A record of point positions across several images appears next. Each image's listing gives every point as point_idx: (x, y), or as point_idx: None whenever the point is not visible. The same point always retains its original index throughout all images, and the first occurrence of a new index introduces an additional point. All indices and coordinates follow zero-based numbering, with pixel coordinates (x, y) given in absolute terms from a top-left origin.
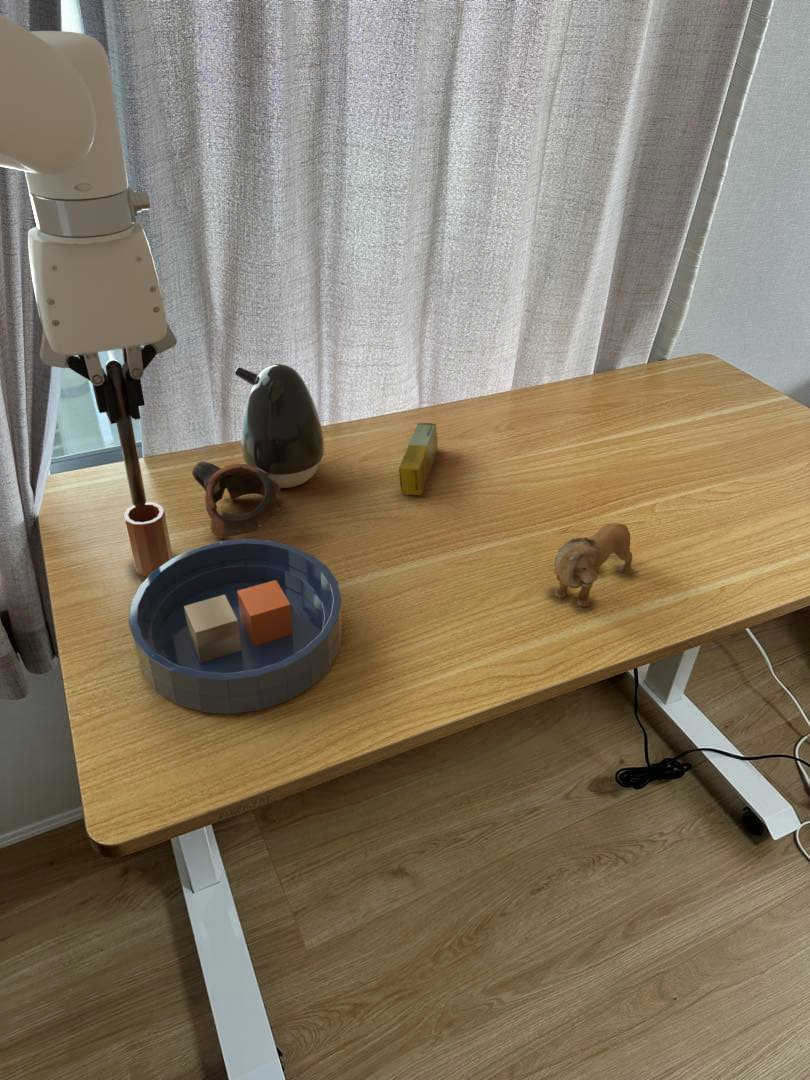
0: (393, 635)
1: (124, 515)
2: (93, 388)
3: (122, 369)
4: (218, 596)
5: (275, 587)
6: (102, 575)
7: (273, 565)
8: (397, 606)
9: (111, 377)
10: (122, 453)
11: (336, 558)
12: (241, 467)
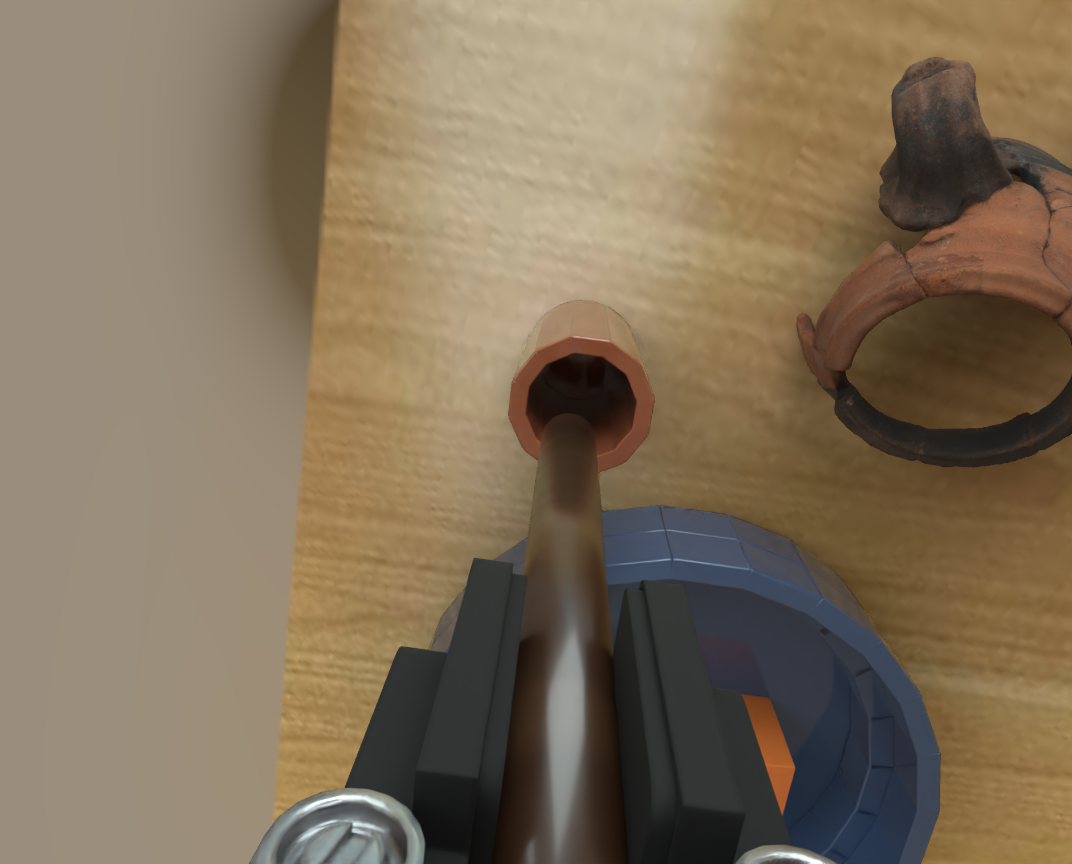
0: (936, 860)
1: (515, 385)
2: (362, 748)
3: (682, 841)
4: None
5: (776, 791)
6: (438, 318)
7: (840, 641)
8: (1013, 802)
9: None
10: (529, 528)
11: (1026, 591)
12: (1058, 317)
